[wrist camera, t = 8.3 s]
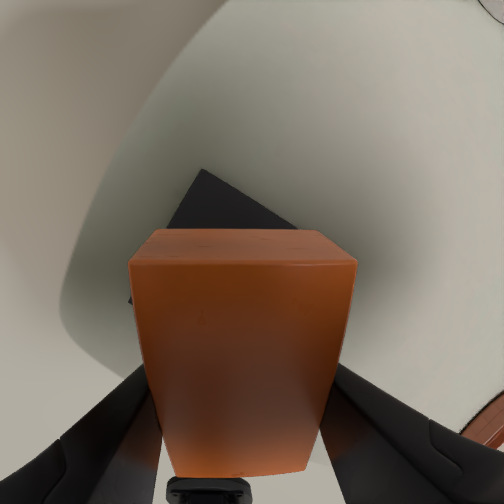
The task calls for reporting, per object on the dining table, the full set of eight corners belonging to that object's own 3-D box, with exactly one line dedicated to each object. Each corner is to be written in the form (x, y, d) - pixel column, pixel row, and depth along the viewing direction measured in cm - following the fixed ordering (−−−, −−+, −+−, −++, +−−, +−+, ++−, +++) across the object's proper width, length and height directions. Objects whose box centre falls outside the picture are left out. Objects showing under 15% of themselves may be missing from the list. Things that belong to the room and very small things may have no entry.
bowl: (486, 436, 27) (498, 451, 23) (431, 466, 25) (443, 486, 21) (525, 375, 23) (541, 391, 19) (476, 405, 21) (495, 427, 17)
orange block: (289, 403, 10) (310, 470, 7) (177, 406, 10) (170, 477, 7) (312, 221, 8) (367, 260, 5) (156, 220, 8) (117, 261, 4)
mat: (251, 359, 15) (252, 364, 14) (129, 298, 13) (127, 302, 13) (332, 252, 13) (335, 254, 13) (202, 168, 12) (201, 168, 11)
